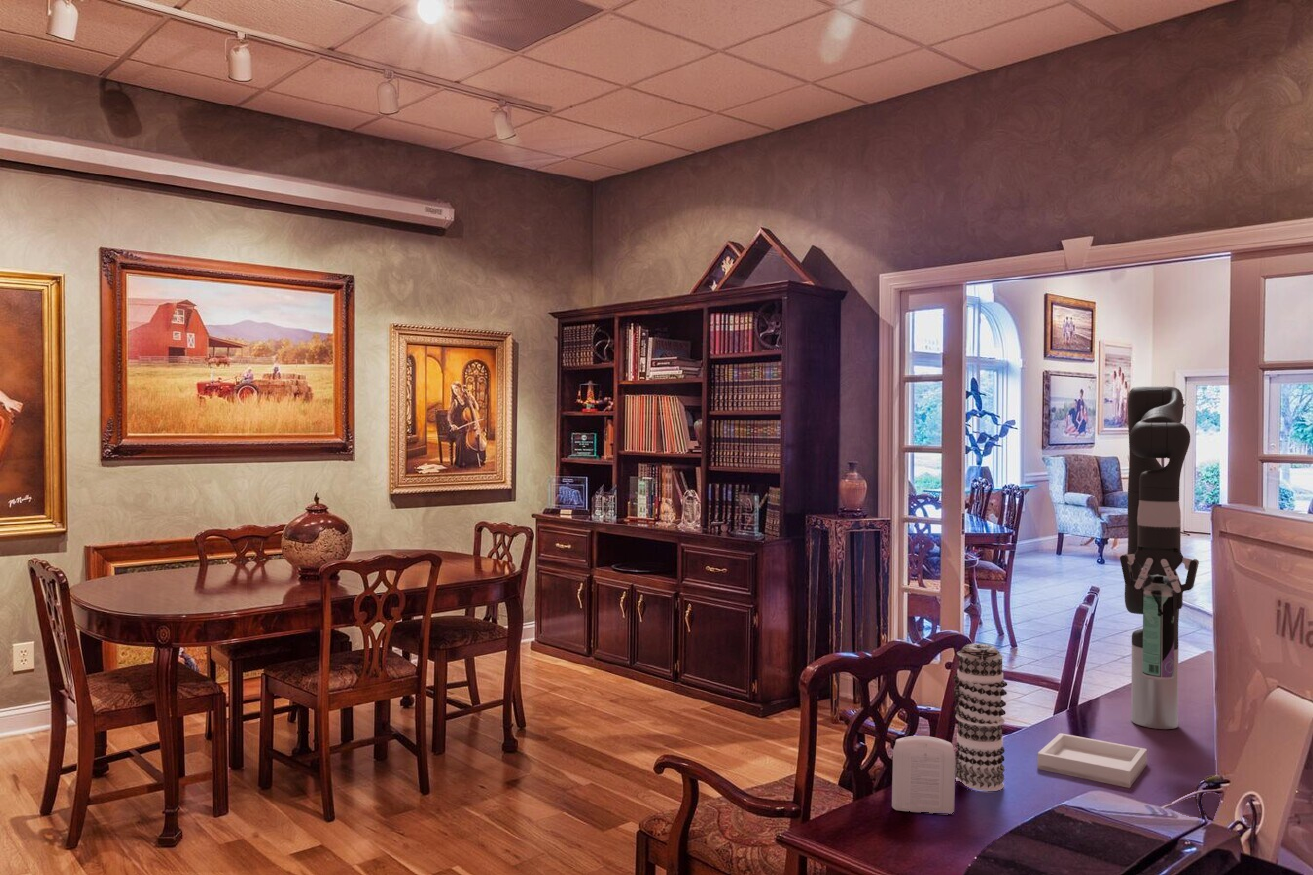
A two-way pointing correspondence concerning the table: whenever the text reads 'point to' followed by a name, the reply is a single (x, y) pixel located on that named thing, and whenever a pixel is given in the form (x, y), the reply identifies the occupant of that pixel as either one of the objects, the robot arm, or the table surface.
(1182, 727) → the table surface
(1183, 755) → the table surface
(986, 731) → the decorative candle
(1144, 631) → the spray can
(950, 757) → the white rounded block
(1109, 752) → the tray
